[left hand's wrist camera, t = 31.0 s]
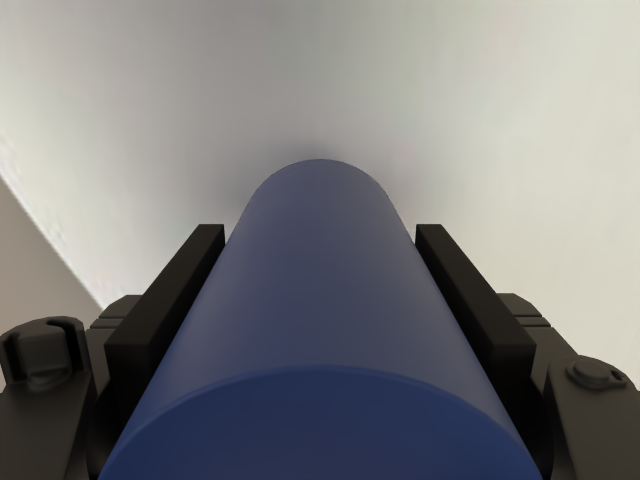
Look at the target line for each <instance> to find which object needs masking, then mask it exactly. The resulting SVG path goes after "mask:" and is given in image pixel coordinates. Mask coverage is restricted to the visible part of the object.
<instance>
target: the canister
mask: <svg viewBox="0 0 640 480" xmlns="http://www.w3.org/2000/svg"><path fill="white" fill-rule="evenodd" d="M98 480H543V479H542V476H541V474H540V471H539V470H538V468H537V466H536V464H535V462H534V461H533V459H532V457H531V455H530V453H529V451H528V450H527V448H526V446H525V444H524V442H523V441H522V439H521V437H520V435H519V433H518V432H517V430H516V428H515V426H514V424H513V422H512V421H511V419H510V417H509V415H508V413H507V412H506V410H505V408H504V406H503V404H502V402H501V401H500V399H499V397H498V395H497V393H496V392H495V390H494V388H493V386H492V384H491V382H490V381H489V379H488V377H487V375H486V373H485V372H484V370H483V368H482V366H481V364H480V362H479V361H478V359H477V357H476V355H475V353H474V352H473V350H472V348H471V346H470V344H469V343H468V341H467V339H466V337H465V335H464V333H463V332H462V330H461V328H460V326H459V324H458V323H457V321H456V319H455V317H454V315H453V313H452V312H451V310H450V308H449V306H448V304H447V303H446V301H445V299H444V297H443V295H442V293H441V292H440V290H439V288H438V286H437V284H436V283H435V281H434V279H433V277H432V275H431V274H430V272H429V270H428V268H427V266H426V264H425V263H424V261H423V259H422V257H421V255H420V254H419V252H418V250H417V248H416V246H415V244H414V243H413V241H412V239H411V237H410V235H409V234H408V232H407V230H406V228H405V226H404V224H403V223H402V221H401V219H400V217H399V215H398V214H397V212H396V210H395V208H394V206H393V204H392V203H391V201H390V199H389V198H388V196H387V194H386V193H385V191H384V190H383V189H382V188H381V186H380V185H379V184H378V183H377V182H376V181H375V180H374V179H373V178H372V177H370V176H369V175H367V174H366V173H365V172H363V171H362V170H360V169H358V168H356V167H354V166H351V165H349V164H346V163H343V162H339V161H334V160H324V159H317V160H307V161H301V162H298V163H295V164H291V165H289V166H287V167H285V168H283V169H280V170H279V171H277V172H276V173H274V174H273V175H271V176H270V177H269V178H268V179H267V180H265V181H264V182H263V183H262V184H261V186H260V187H259V188H258V189H257V190H256V192H255V193H254V195H253V196H252V198H251V200H250V201H249V203H248V205H247V207H246V209H245V210H244V212H243V214H242V216H241V218H240V220H239V221H238V223H237V225H236V227H235V229H234V230H233V232H232V234H231V236H230V238H229V239H228V241H227V243H226V245H225V247H224V249H223V250H222V252H221V254H220V256H219V258H218V259H217V261H216V263H215V265H214V267H213V269H212V270H211V272H210V274H209V276H208V278H207V279H206V281H205V283H204V285H203V287H202V289H201V290H200V292H199V294H198V296H197V298H196V299H195V301H194V303H193V305H192V307H191V308H190V310H189V312H188V314H187V316H186V318H185V319H184V321H183V323H182V325H181V327H180V328H179V330H178V332H177V334H176V336H175V338H174V339H173V341H172V343H171V345H170V347H169V348H168V350H167V352H166V354H165V356H164V358H163V359H162V361H161V363H160V365H159V367H158V368H157V370H156V372H155V374H154V376H153V377H152V379H151V381H150V383H149V385H148V387H147V388H146V390H145V392H144V394H143V396H142V397H141V399H140V401H139V403H138V405H137V407H136V408H135V410H134V412H133V414H132V416H131V417H130V419H129V421H128V423H127V425H126V427H125V428H124V430H123V432H122V434H121V436H120V437H119V439H118V441H117V443H116V445H115V446H114V448H113V450H112V452H111V454H110V456H109V457H108V459H107V461H106V463H105V465H104V466H103V469H102V471H101V473H100V475H99V477H98Z"/></svg>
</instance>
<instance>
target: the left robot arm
mask: <svg viewBox="0 0 640 480" xmlns="http://www.w3.org/2000/svg"><path fill="white" fill-rule="evenodd" d="M415 246H416V248H417V250H418V252H419V254H420V255H421V257H422V259H423V261H424V263H425V264H426V266H427V268H428V270H429V272H430V274H431V275H432V277H433V279H434V281H435V283H436V284H437V286H438V288H439V290H440V292H441V293H442V295H443V297H444V299H445V301H446V303H447V304H448V306H449V308H450V310H451V312H452V313H453V315H454V317H455V319H456V321H457V323H458V324H459V326H460V328H461V330H462V332H463V333H464V335H465V337H466V339H467V341H468V343H469V344H470V346H471V348H472V350H473V352H474V353H475V355H476V357H477V359H478V361H479V362H480V364H481V366H482V368H483V370H484V372H485V373H486V375H487V377H488V379H489V381H490V382H491V384H492V386H493V388H494V390H495V392H496V393H497V395H498V397H499V399H500V401H501V402H502V404H503V406H504V408H505V410H506V412H507V413H508V415H509V417H510V419H511V421H512V422H513V424H514V426H515V428H516V430H517V432H518V433H519V435H520V437H521V439H522V441H523V442H524V444H525V446H526V448H527V450H528V451H529V453H530V455H531V457H532V459H533V461H534V462H535V464H536V466H537V468H538V470H539V471H540V474H541V476H542V479H543V480H640V391H637V389H636V387H635V385H634V384H633V382H632V381H631V380H630V379H629V378H628V377H627V375H626V374H624V373H623V372H621V371H620V370H618V369H617V368H615V367H614V366H612V365H610V364H608V363H605V362H603V361H601V360H598V359H595V358H591V357H587V356H583V355H578V354H577V353H576V352H575V351H574V350H573V348H572V347H571V346H570V345H569V344H568V343H567V342H566V341H565V340H564V339H563V338H562V336H561V335H560V334H559V333H558V332H557V331H556V330H555V329H554V328H553V327H551V324H550V323H549V322H548V321H547V320H546V319H545V318H544V317H542V315H541V314H540V312H539V311H538V310H537V309H536V308H535V307H534V306H533V305H532V304H531V303H530V302H528V301H526V300H524V299H523V298H521V297H519V296H517V295H516V294H514V293H496V292H495V291H494V290H493V289H492V287H491V286H490V285H489V284H488V282H487V281H486V280H485V279H484V277H483V276H482V275H481V274H480V272H479V271H478V270H477V269H476V267H475V266H474V265H473V264H472V262H471V261H470V260H469V259H468V257H467V256H466V255H465V254H464V252H463V251H462V250H461V249H460V247H459V246H458V245H457V244H456V242H455V241H454V240H453V239H452V237H451V236H450V235H449V234H448V232H447V231H446V230H445V229H444V227H443V226H442V225H441V224H416V237H415ZM224 247H225V233H224V224H199V225H198V226H197V228H196V229H195V230H194V231H193V233H192V234H191V235H190V236H189V238H188V239H187V240H186V242H185V243H184V244H183V245H182V247H181V248H180V249H179V250H178V252H177V253H176V254H175V255H174V257H173V258H172V259H171V260H170V262H169V263H168V264H167V265H166V267H165V268H164V269H163V270H162V272H161V273H160V274H159V275H158V277H157V278H156V279H155V280H154V282H153V283H152V284H151V285H150V287H149V288H148V289H147V290H146V292H145V293H144V294H143V295H126V296H124V297H122V298H121V299H119V300H117V301H115V302H114V303H112V304H110V305H109V306H108V307H107V308H106V309H105V310H104V311H103V313H102V314H101V315H100V316H99V319H96V320H95V321H94V322H93V324H92V325H91V326H90V329H87V330H86V331H84V326H83V323H82V322H81V321H80V320H78V319H77V318H73V317H67V316H56V317H46V318H41V319H37V320H32V321H30V322H27V323H24V324H21V325H19V326H16V327H14V328H13V329H11V330H9V331H7V332H6V333H4V334H2V335H1V336H0V364H1V368H2V371H3V375H4V378H5V381H6V386H5V388H4V390H3V392H2V393H0V480H98V477H99V475H100V473H101V471H102V469H103V466H104V465H105V463H106V461H107V459H108V457H109V456H110V454H111V452H112V450H113V448H114V446H115V445H116V443H117V441H118V439H119V437H120V436H121V434H122V432H123V430H124V428H125V427H126V425H127V423H128V421H129V419H130V417H131V416H132V414H133V412H134V410H135V408H136V407H137V405H138V403H139V401H140V399H141V397H142V396H143V394H144V392H145V390H146V388H147V387H148V385H149V383H150V381H151V379H152V377H153V376H154V374H155V372H156V370H157V368H158V367H159V365H160V363H161V361H162V359H163V358H164V356H165V354H166V352H167V350H168V348H169V347H170V345H171V343H172V341H173V339H174V338H175V336H176V334H177V332H178V330H179V328H180V327H181V325H182V323H183V321H184V319H185V318H186V316H187V314H188V312H189V310H190V308H191V307H192V305H193V303H194V301H195V299H196V298H197V296H198V294H199V292H200V290H201V289H202V287H203V285H204V283H205V281H206V279H207V278H208V276H209V274H210V272H211V270H212V269H213V267H214V265H215V263H216V261H217V259H218V258H219V256H220V254H221V252H222V250H223V249H224Z"/></svg>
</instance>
